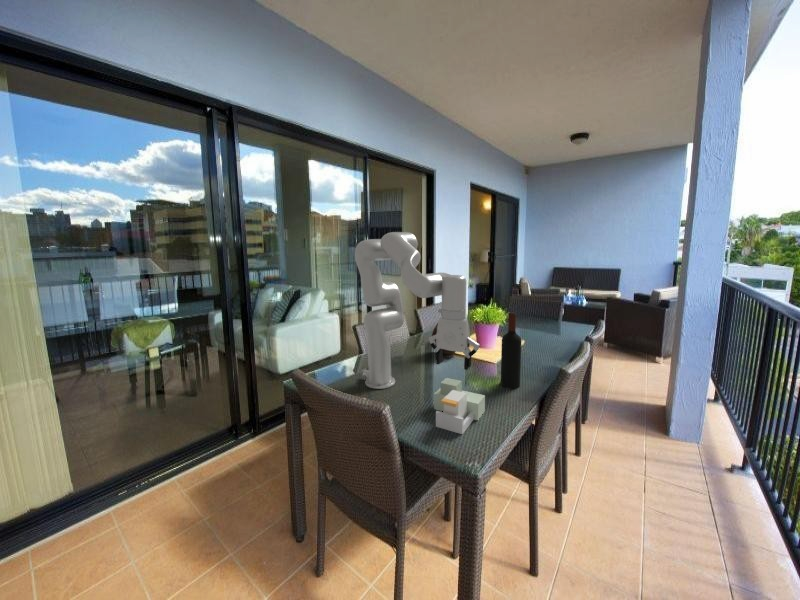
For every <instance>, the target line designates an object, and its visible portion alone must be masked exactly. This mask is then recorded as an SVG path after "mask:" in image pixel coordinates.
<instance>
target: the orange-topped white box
mask: <svg viewBox="0 0 800 600" xmlns="http://www.w3.org/2000/svg"><path fill="white" fill-rule="evenodd" d="M441 404H444V413H447V414H451V415H455V416H458V417H462V418H464V420H465V418H466V417H467V393H465V392H460V391H456V390H452V391H451V392H450V393H449V394H448V395H447V396H445V397H444V398H443V399H442V400H441Z"/></svg>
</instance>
